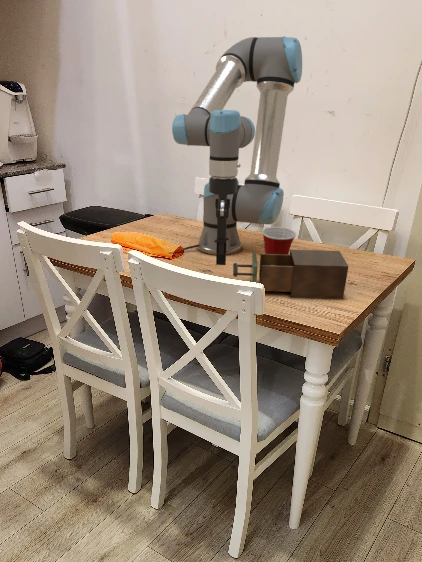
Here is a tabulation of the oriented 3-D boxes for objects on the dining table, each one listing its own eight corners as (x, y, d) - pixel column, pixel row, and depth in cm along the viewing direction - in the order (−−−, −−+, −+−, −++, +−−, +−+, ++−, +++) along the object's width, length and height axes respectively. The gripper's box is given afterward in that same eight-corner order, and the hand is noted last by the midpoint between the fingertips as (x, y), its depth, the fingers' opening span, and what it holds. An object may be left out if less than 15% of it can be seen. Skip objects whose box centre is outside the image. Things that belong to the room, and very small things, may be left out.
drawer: (232, 291, 137) (233, 265, 133) (232, 276, 148) (233, 251, 144) (299, 293, 137) (302, 267, 133) (294, 278, 147) (297, 253, 143)
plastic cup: (269, 275, 151) (272, 237, 145) (253, 264, 160) (255, 228, 153) (298, 271, 155) (303, 234, 149) (281, 261, 164) (285, 225, 157)
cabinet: (291, 297, 137) (294, 264, 132) (286, 280, 148) (290, 249, 143) (343, 299, 136) (348, 266, 131) (334, 281, 148) (339, 250, 143)
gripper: (237, 181, 121) (233, 272, 134) (237, 173, 133) (234, 257, 145) (207, 180, 122) (206, 271, 134) (210, 172, 133) (209, 256, 145)
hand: (220, 264), depth 139 cm, fingers closed
